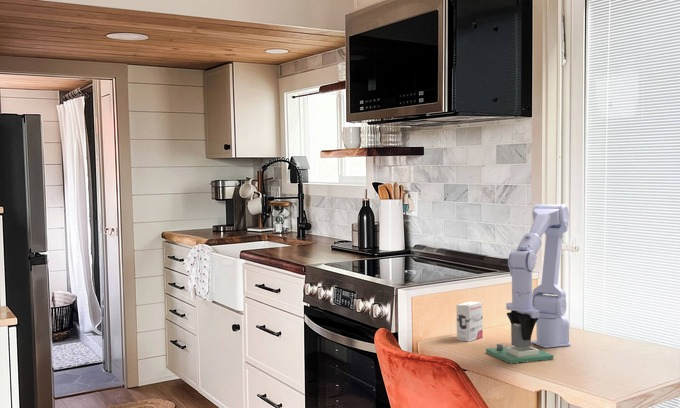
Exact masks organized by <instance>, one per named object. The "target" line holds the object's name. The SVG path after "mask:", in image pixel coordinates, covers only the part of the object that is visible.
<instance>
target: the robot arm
mask: <svg viewBox="0 0 680 408" xmlns="http://www.w3.org/2000/svg"><path fill="white" fill-rule="evenodd" d="M532 220H533V222H532V225H531V227H530V230H529V232H528V233H525V234H523V236H522V238H521V240H520V242H519V244H518V245H517V247H516V250H513V251H511V252H510V253H509V255H508V260H507V264H508V265H507V266H508V269H509V274H510V276H511V302H506V304H505V305H506V306H505V309H506V310H507V311H510V312H506V316H507V318H508V320H509V322H510V325H511V324H515V323H516V324H521V329H522V337H523V340H530V339H531V344H535V345H536V346H538V347H539V346H540V347H542V348H545V349H546V348H555V347H567V346H571V345H572V343H570V322H569V320H568V318H567V317H566V316H564V315H565V314H566V312H567V297H566V296H567V295H566V292H565V291H564V290H563V289H562V288H561V286H559V285H558V283H559V274H560V273H559V272H560V263H561V254H562V243H563V235H564V234H565V233H566V232H568V228H569V221H570V211H569V208H568V206H567V205H566V204H565V203H562V204H540V203H536V204H535V205H534V206H533V209H532ZM544 234H545V244H544V252H543V253H544V254H543V264H542V274H541V275H542V276H541V283H540V285H538V286H537V287H535V288H534V289H533V271H534V269H535V268H536V264H537V263H536V262H537V258H538V257H537V255H538V252H539V250H540V248H541V246H542V239H541V238H543V237H542V236H543V235H544ZM535 325H536V329H535V330H536V339H535V340H532V335H533V333H534V332H533V331H534V328H535Z"/></svg>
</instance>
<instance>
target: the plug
mask: <svg viewBox="0 0 680 408" xmlns="http://www.w3.org/2000/svg"><path fill="white" fill-rule="evenodd" d="M510 331H511V332H510V333H511V334H510V336H511V337H510V338H511V339H510V341H511V346H516V347H518V348H522V347H531V346H532V343H531V341H532V338H531V339H530V340H523V337H522V329H521V324H516V323H515V324H511V323H510Z"/></svg>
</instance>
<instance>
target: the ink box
mask: <svg viewBox="0 0 680 408" xmlns="http://www.w3.org/2000/svg"><path fill="white" fill-rule="evenodd" d="M483 323H484V322H483V302H481V301H471V300H469V301H465V302H463V303H460V304H459V303H458V304H456V340H458V341H463V342H468V343H470V342H473V341H475V340H479V339H482V338H483V337H484V336H483V334H484V333H483V326H484V325H483Z"/></svg>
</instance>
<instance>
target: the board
mask: <svg viewBox="0 0 680 408" xmlns="http://www.w3.org/2000/svg"><path fill="white" fill-rule="evenodd" d="M485 353H486V354H489V355H490V356H492V357H495V358H497V359H499V360H501V361H503V360H504V361H503V362H505V361H507V362H509V363H516V364H518V363H517V362H525V363H528V362H527V361H535V362H539V361H538V360H544V361H550V360H549V359H553V360H554V354H551V353H550V352H549V353H548V352H547V351H544V350H541V349H539V348H536V347H534V346H532V345H531V347H522V348H518V347H516V346H513V345H509V346H504V344H502V343H497V344H496V347H489V348H485ZM507 362H506V363H507ZM509 363H508V364H509Z"/></svg>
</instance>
